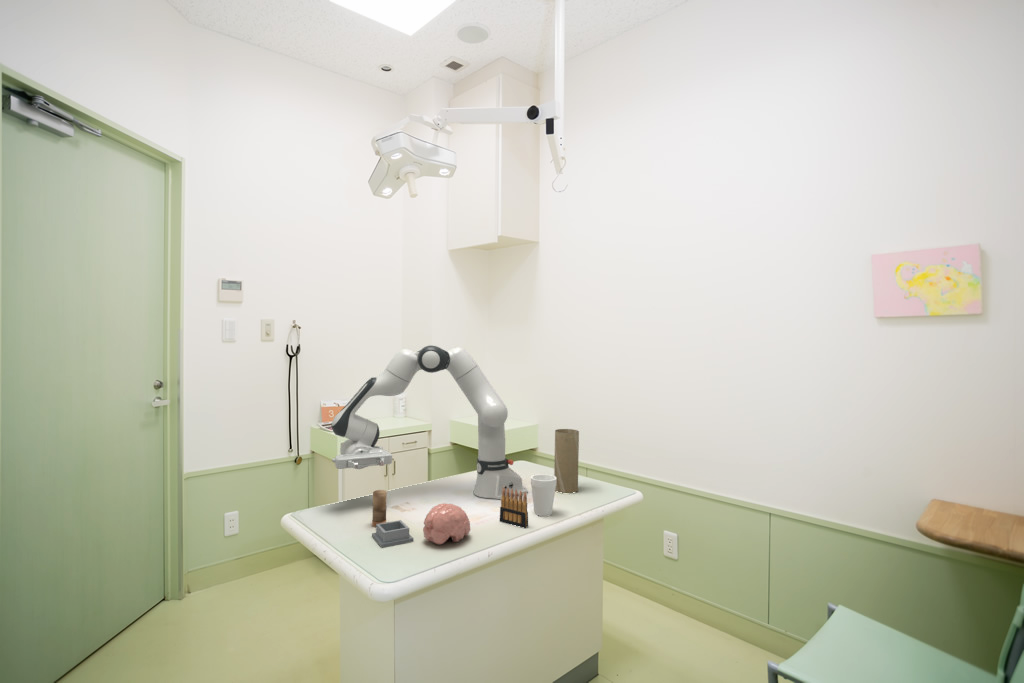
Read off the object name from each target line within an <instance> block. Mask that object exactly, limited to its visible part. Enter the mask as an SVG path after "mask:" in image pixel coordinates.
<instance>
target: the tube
mask: <svg viewBox="0 0 1024 683" xmlns="http://www.w3.org/2000/svg"><path fill="white" fill-rule="evenodd" d="M579 440H580V431H579V430H578V429H571V428H559V429H558V428H557V429H555V430H554V465H553V466H554V468H553V469H554V470H553V471H554V472H553V476H555V477H556V488H555V492H556V491H558V492H562V493H561V494H563V493H573V492H576V491H579V450H580V449H579V448H580V446H579V445H580V442H579ZM558 492H557V493H558ZM576 493H577V492H576ZM573 494H574V493H573Z"/></svg>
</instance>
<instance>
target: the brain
mask: <svg viewBox="0 0 1024 683" xmlns="http://www.w3.org/2000/svg"><path fill="white" fill-rule="evenodd" d="M423 525H424V527H423V528H422V531H423V532H422V533H423V538H425V539H426V540H427V541H428V542H432V543H434V544H435V545H443V544H444V543H445V542H447V541H448V540H449V538H451V540H452V542H454V543H458V542H460V540H462V539H463V538H464V536H467V535H469V533H470V532H471V522H470V519H469V517H468V515H467V513H466V511H465V510H464V509H462V507H460V506H458V505H455V504H453V503H438V504H437V505H435V506H433V507H432V508H431V509H430V510H429V511H428V513H427V514H426V516H425V518H424V521H423Z"/></svg>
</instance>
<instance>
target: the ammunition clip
mask: <svg viewBox="0 0 1024 683" xmlns="http://www.w3.org/2000/svg"><path fill="white" fill-rule="evenodd" d="M527 499H528V498H527V493H526V492H524V494H522V492H521V490H520V493H519V495H518V492H517V489H516V491H515V495H514V493H513V489H511V493H510V496H509V488H507V491H506V497H505V488H504V487H503V489H502V498H501V499H500V506H499V522H500V523H504V524H507V525H511V524H512V525H511V526H514V525H516V526H515V527H518V526H520V528H522V527H524V528H523V529H526V527H527V528H528V527H529V512H528V500H527Z"/></svg>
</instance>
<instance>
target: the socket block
mask: <svg viewBox="0 0 1024 683" xmlns="http://www.w3.org/2000/svg"><path fill="white" fill-rule="evenodd" d="M371 538H373V540H374V541H375V542H376V543H377V545H379V547H380V548H381V549H382V548H388V547H393V546H397V545H398V546H399V545H403V544H408V543H413V542H414V537H412V535H411V534H410V527H409V525H407V524H406V523H405V522H404V521H402V520H401V519H398V520H394V521H393V520H392V521H386V523H381V524H376V527H375V532H372V533H371Z"/></svg>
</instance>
